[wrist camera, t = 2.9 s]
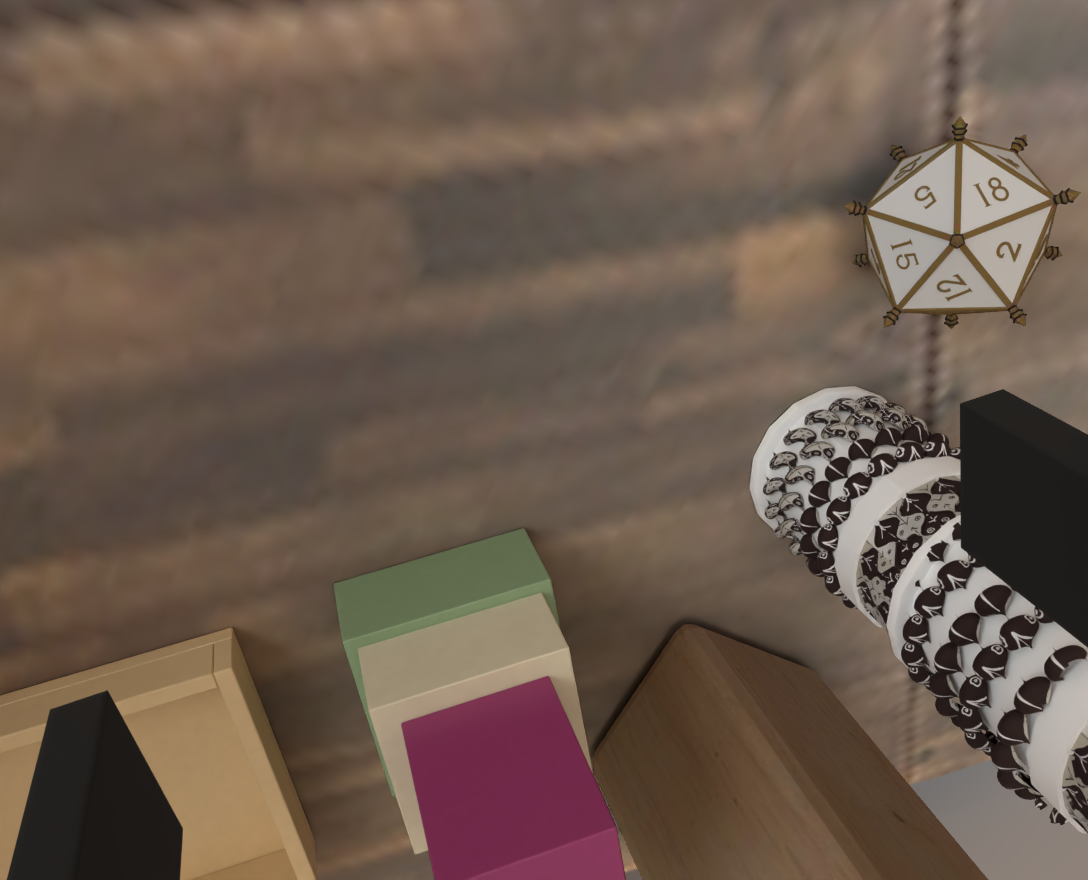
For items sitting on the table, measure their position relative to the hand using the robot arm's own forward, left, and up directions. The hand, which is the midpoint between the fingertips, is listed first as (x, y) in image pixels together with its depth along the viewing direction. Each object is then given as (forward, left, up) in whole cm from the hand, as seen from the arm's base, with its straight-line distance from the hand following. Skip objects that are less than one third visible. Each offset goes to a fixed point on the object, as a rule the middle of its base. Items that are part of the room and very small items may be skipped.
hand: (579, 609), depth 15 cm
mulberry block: (-1, -20, -18) cm, 27 cm away
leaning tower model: (+19, -17, -27) cm, 37 cm away
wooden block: (+11, -30, -27) cm, 42 cm away
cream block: (-1, -20, -22) cm, 30 cm away
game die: (+23, -5, -27) cm, 36 cm away
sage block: (-1, -20, -27) cm, 33 cm away
